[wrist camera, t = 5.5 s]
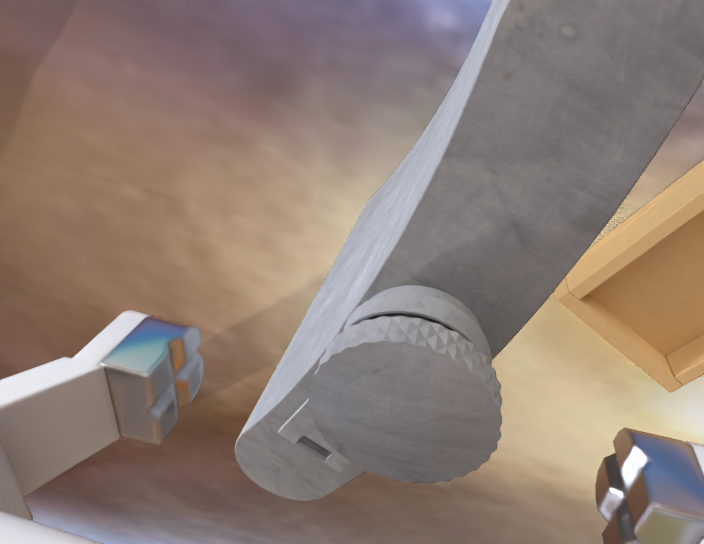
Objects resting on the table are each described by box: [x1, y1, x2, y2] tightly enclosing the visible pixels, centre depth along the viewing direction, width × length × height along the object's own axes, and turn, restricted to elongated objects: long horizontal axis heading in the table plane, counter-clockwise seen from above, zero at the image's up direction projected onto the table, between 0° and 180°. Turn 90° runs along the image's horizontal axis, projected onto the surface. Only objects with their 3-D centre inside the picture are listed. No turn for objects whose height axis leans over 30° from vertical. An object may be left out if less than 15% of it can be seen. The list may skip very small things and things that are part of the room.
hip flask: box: [235, 0, 704, 501], centre depth 18 cm, size 16×4×20 cm, turn 153°
